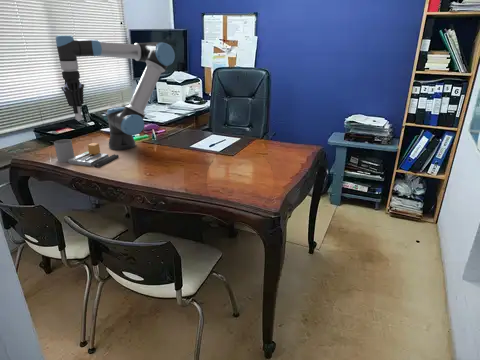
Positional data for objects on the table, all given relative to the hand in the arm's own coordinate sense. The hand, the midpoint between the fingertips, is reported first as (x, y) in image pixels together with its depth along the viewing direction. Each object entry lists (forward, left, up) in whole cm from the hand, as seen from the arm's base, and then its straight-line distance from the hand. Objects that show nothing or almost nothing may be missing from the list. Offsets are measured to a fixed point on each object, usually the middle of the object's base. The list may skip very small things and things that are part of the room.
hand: (79, 119), depth 171 cm
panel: (-2, 0, -22) cm, 22 cm away
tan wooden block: (-7, 0, -20) cm, 21 cm away
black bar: (-3, +10, -22) cm, 25 cm away
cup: (0, -13, -23) cm, 26 cm away
